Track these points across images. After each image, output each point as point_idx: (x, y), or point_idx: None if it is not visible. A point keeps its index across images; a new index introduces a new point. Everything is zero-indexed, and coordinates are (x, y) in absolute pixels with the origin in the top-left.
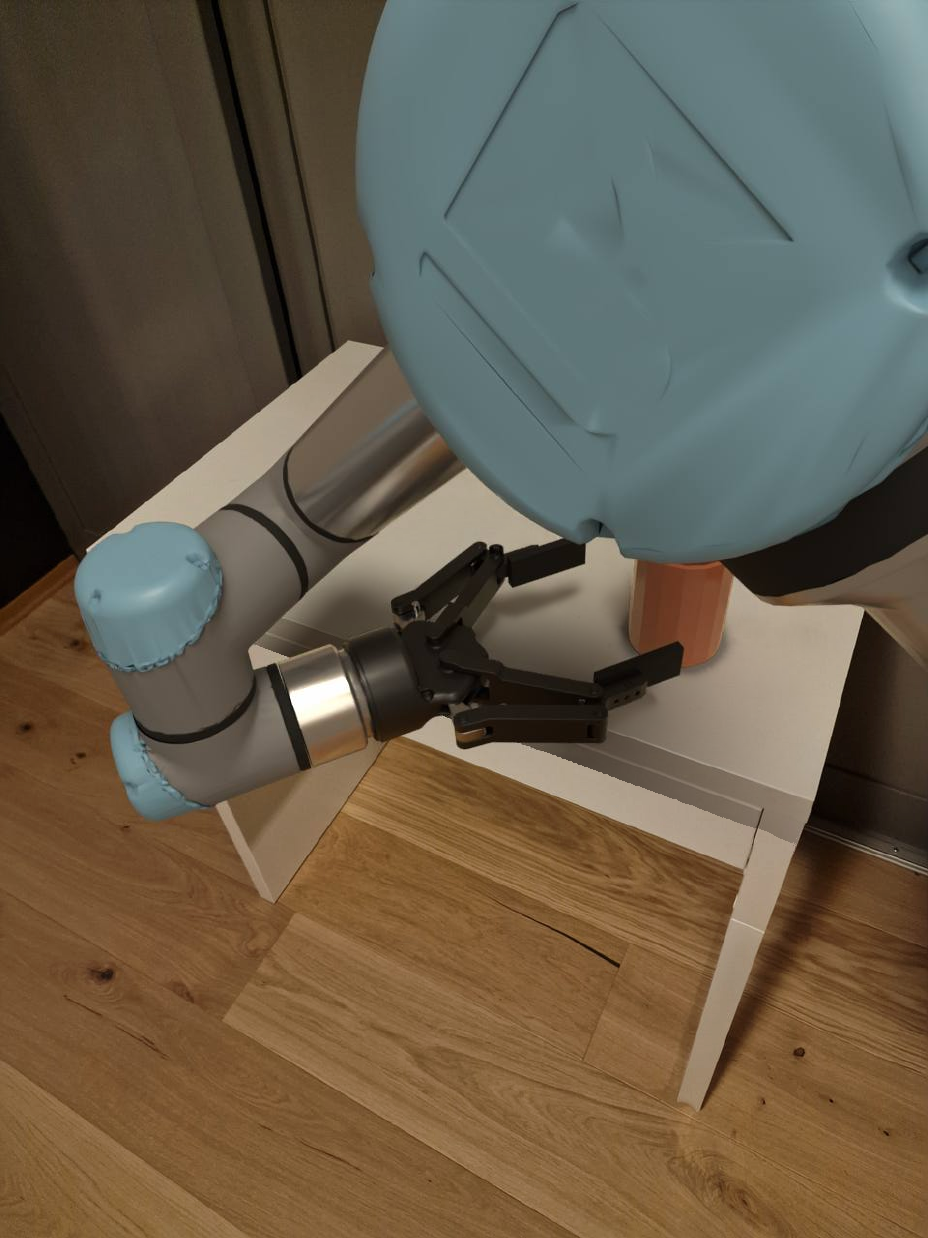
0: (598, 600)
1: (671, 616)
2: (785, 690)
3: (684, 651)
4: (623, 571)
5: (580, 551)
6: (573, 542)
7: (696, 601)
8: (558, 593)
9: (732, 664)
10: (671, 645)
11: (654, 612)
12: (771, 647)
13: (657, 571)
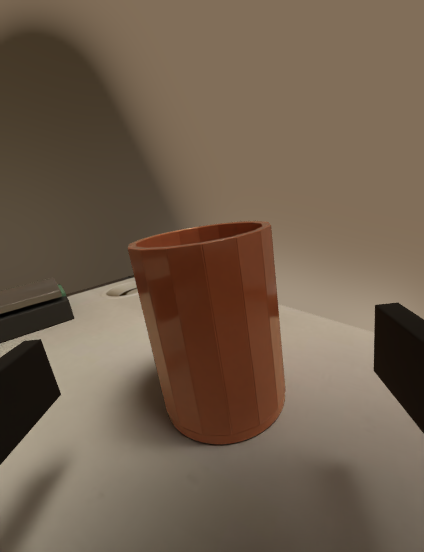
0: (103, 446)
1: (263, 333)
2: (343, 345)
3: (281, 379)
4: (97, 397)
5: (42, 372)
6: (20, 357)
7: (274, 288)
8: (28, 500)
9: (294, 365)
10: (389, 312)
11: (240, 347)
12: (282, 338)
13: (225, 263)
